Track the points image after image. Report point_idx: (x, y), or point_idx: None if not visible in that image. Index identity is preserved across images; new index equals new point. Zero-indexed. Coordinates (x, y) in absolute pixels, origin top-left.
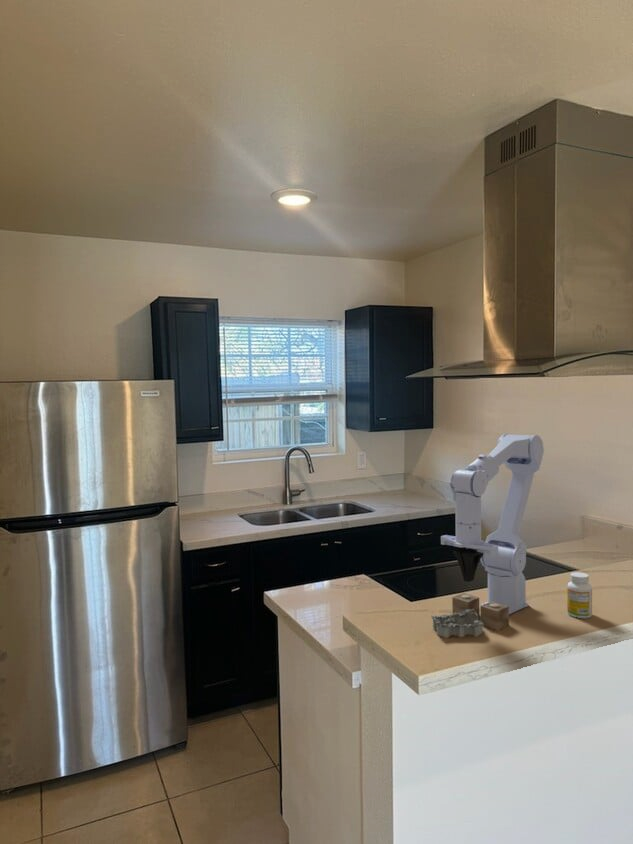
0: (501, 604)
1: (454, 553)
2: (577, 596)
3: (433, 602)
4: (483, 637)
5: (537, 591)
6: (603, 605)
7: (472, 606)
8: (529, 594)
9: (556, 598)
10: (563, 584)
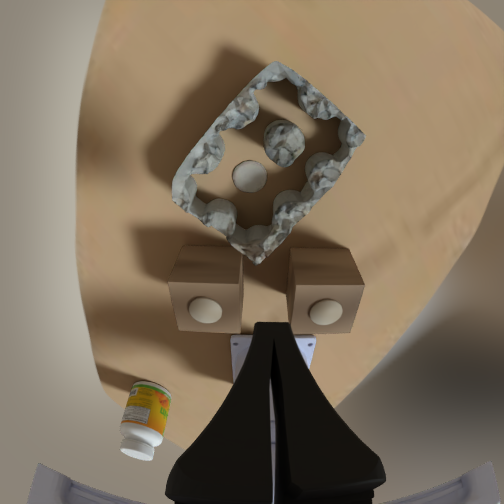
0: (202, 330)
1: (367, 465)
2: (131, 414)
3: (427, 282)
4: (174, 175)
5: None
6: None
7: (292, 291)
8: None
9: None
10: None
